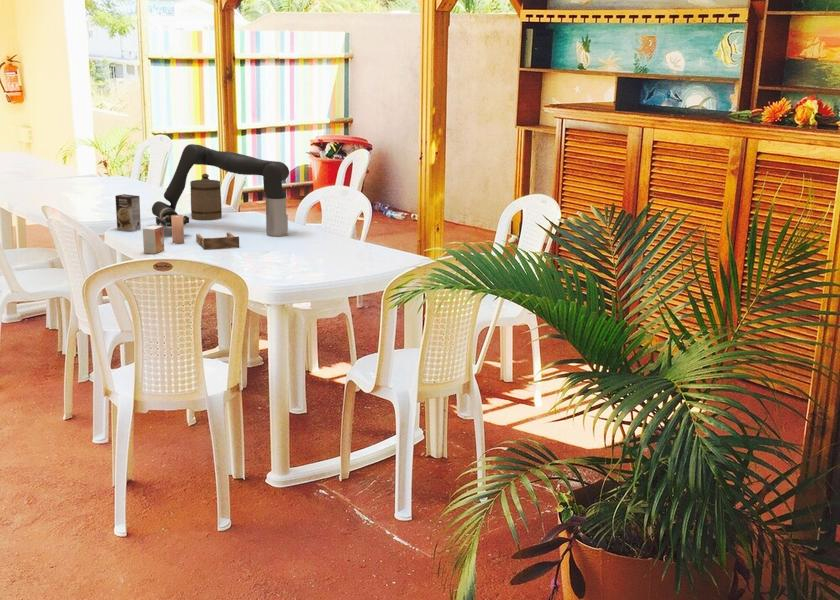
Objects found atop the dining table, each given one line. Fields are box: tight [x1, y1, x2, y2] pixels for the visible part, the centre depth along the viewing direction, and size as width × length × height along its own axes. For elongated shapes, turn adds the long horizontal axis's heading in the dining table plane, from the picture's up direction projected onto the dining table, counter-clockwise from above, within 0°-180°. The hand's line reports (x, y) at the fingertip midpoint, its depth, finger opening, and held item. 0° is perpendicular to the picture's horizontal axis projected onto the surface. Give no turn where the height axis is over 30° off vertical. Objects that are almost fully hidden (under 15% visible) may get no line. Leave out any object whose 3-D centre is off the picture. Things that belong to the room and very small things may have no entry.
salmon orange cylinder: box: [171, 214, 185, 245], centre depth 414 cm, size 5×5×12 cm
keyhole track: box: [195, 232, 240, 251], centre depth 414 cm, size 15×18×5 cm
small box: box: [142, 225, 165, 255], centre depth 396 cm, size 8×6×10 cm
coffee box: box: [115, 193, 142, 232], centre depth 438 cm, size 9×6×16 cm
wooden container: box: [189, 173, 223, 221], centre depth 471 cm, size 15×15×22 cm
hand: (174, 223), depth 420 cm, fingers open, 8 cm apart
